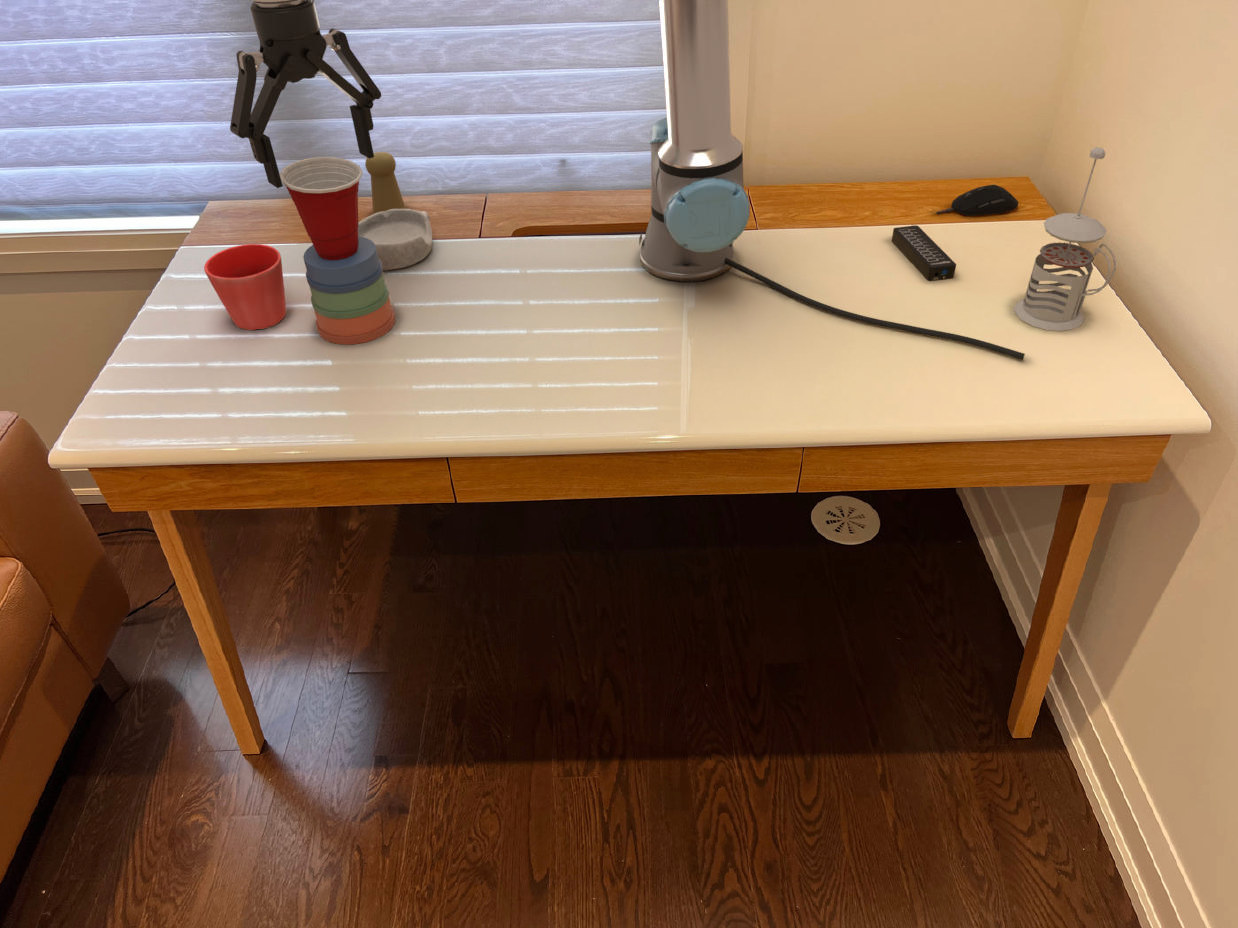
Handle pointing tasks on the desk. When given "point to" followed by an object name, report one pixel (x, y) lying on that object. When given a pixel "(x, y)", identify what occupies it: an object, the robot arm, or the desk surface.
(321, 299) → the cup stack
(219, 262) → the flower pot
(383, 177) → the wooden peg doll
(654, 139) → the robot arm
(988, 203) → the gaming mouse
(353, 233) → the plastic cup
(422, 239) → the dish
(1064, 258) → the french press
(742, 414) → the desk surface
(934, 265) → the multiport hub
